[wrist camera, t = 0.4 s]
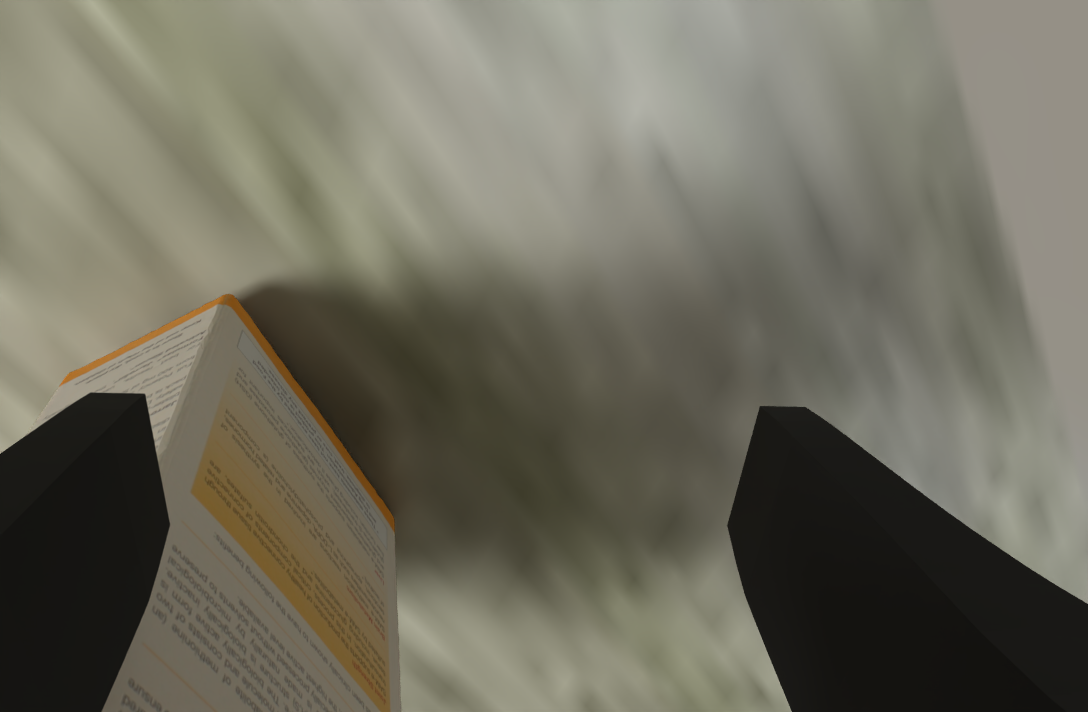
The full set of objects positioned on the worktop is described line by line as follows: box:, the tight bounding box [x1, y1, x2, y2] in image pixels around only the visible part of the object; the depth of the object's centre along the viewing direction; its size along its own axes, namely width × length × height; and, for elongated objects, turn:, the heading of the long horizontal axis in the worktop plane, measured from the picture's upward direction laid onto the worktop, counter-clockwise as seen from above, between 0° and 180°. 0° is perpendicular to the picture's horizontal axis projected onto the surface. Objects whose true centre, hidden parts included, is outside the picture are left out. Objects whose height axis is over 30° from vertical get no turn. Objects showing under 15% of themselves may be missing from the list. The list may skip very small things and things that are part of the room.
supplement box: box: [27, 294, 401, 712], centre depth 16 cm, size 8×5×13 cm, turn 24°
